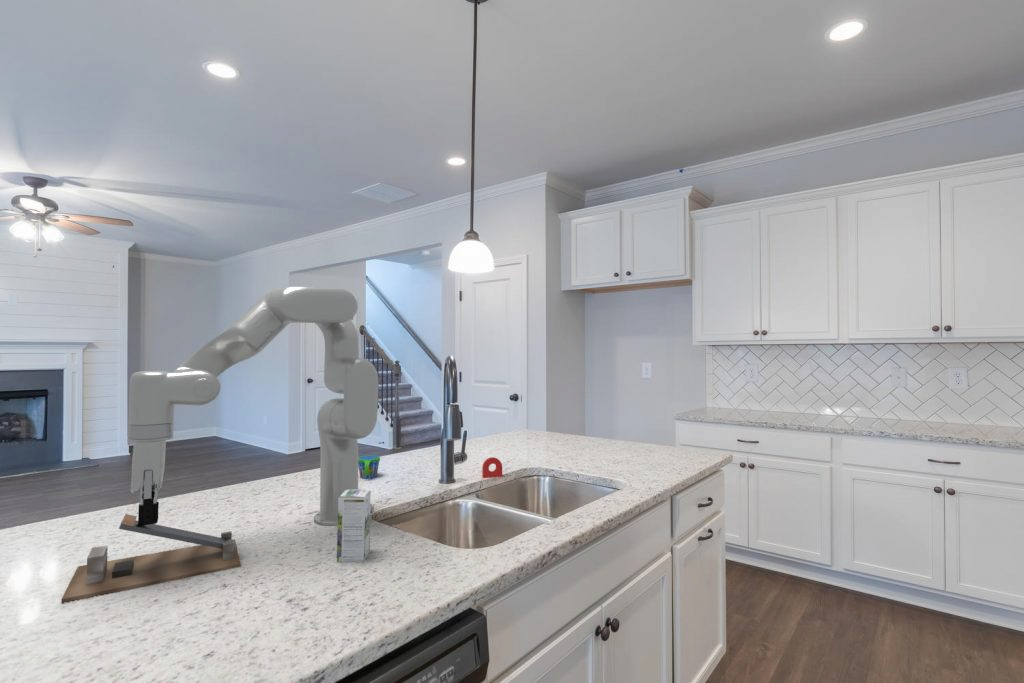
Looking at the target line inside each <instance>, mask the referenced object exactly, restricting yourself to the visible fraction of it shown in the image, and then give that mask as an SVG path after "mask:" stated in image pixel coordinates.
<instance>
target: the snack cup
mask: <svg viewBox="0 0 1024 683" xmlns="http://www.w3.org/2000/svg"><path fill="white" fill-rule="evenodd" d="M380 461H381V457H380V456H379V455H373V454H371V455H362V456H359V459H358V474H359V478H360V479H361V478H362V480H371V479H375V478H377V477H378V471H379V466H380V465H379V464H380Z"/></svg>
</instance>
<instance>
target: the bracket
mask: <svg viewBox="0 0 1024 683" xmlns="http://www.w3.org/2000/svg"><path fill="white" fill-rule="evenodd" d="M492 464H494V465H495V469H494V470H490V466H491V465H492ZM481 470H482V471H481V472H482V474H481V475H482V476H481V477H482V479H489V478H501V477H504V475H503V464H502V462H501V460H500V459H498V458H497V457H496V456H495V457H494V456H493V457H488V458H486V459H485V460H484V461H483V464H482V469H481Z"/></svg>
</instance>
